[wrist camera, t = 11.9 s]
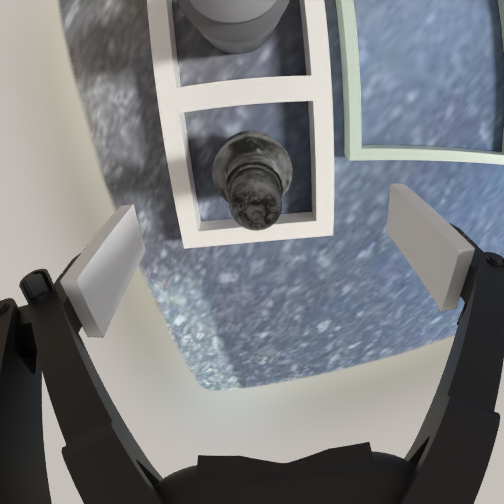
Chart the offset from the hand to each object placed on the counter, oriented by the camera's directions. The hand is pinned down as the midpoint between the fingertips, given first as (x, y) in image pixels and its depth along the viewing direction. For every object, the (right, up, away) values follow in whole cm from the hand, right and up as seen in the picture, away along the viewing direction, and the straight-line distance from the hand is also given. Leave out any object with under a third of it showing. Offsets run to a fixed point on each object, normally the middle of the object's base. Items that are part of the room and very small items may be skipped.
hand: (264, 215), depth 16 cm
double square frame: (-1, +11, +7) cm, 13 cm away
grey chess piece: (-1, +6, +10) cm, 12 cm away
